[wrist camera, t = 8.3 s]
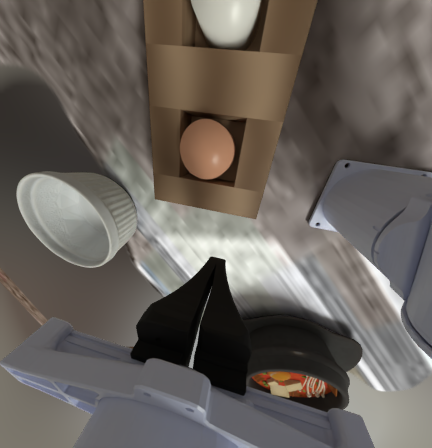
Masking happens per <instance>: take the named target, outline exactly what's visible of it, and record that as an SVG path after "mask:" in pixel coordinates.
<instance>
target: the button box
mask: <svg viewBox="0 0 432 448" xmlns="http://www.w3.org/2000/svg"><path fill="white" fill-rule="evenodd" d="M317 1H318V0H262V1H261V13H260V21H259V26H258V29H257V32H256V34H255V37H254V39H253V41H252V42H251V44H250V45H249V47H248V48H247V49H246V50H245V51H241V50H227V49H214V48H210V47H209V46H208V44H207V42H206V39H205V37H204V34H203V32H202V29H201V27H200V24H199V22H198V19H197V17H196V14H195V12H194V9H193V6H192V3H191V0H143V3H144V20H145V38H146V55H147V72H148V89H149V106H150V123H151V140H152V157H153V175H154V192H155V199H157V200H162V201H167V202H172V203H177V204H182V205H187V206H192V207H197V208H202V209H207V210H212V211H217V212H222V213H227V214H232V215H237V216H242V217H247V218H252V219H256V217H257V214H258V210H259V207H260V203H261V200H262V196H263V193H264V189H265V185H266V182H267V178H268V175H269V171H270V168H271V164H272V161H273V157H274V153H275V150H276V146H277V143H278V139H279V136H280V132H281V129H282V125H283V121H284V118H285V114H286V111H287V107H288V104H289V100H290V97H291V93H292V90H293V86H294V82H295V79H296V75H297V72H298V68H299V65H300V61H301V58H302V54H303V50H304V47H305V43H306V40H307V36H308V33H309V29H310V26H311V22H312V18H313V15H314V11H315V8H316V4H317ZM200 119H211V120H214V121H216V122H218V123H220V124H221V125H222V126H223V127H225V128H226V129H227V130H228V131H229V132H230V133H231V135H232V136H233V138H234V141H235V144H236V155H235V158H234V161H233V163H232V164H231V166H230V167H229V168H228V169H227V170H226V171H225V172H224V173H223V174H221V175H220V176H218V177H216V178H213V179H201V178H198V177H196V176H194V175H193V174H191V173H190V172H189V171H188V170H187V168H186V167H185V165H184V163H183V161H182V159H181V154H180V142H181V138H182V135H183V133H184V131H185V130H186V128H187V127H188V126H189V125H190V124H192V123H193V122H195V121H197V120H200Z"/></svg>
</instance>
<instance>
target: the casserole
mask: <svg viewBox="0 0 432 448" xmlns="http://www.w3.org/2000/svg"><path fill="white" fill-rule="evenodd" d="M242 320H243V322H244V324H245V326H246V328H247V329H248V331H249V335H250V340H251V346H252V356H251V358H250V360H249V362H248V372H247V374H246V386H247V387H250V388H254V389H257V390H260V391H263V392H266V393H269V394H272V395H275V396H278V397H281V398H284V399H287V400H290V401H293V402H297V403H300V404H303V405H306V406H309V407H312V408H315V409H318V410H321V411H324V412H328V411H329V410H330V409H332V408H338V409H342V410H343V409H345V408H346V407H347V406H348V403H349V395H348V387H349V385H350V380H349V377H348V375H347V373H346V372H347V371H349V370H350V369H352V368H354V367H355V366H356V365H357V364H358V363H359V361H360V359H361V357H362V348H361V345H360V344H359V343H358V342H357V341H355V340H354V339H351V338H348V337H345V336H342V335H340V334H337V333H334V332H332V331H330V330H328V329H326V328H324V327H322V326H320V325H318V324H316V323H314V322H311V321H308V320H305V319H301V318H297V317H292V316H266V317H260V318H254V319H242Z"/></svg>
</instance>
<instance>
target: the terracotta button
mask: <svg viewBox="0 0 432 448" xmlns="http://www.w3.org/2000/svg"><path fill="white" fill-rule="evenodd" d="M180 154H181V159H182V161H183V163H184V165H185V167H186V168H187V170H188V171H189V172H190V173H191V174H193V175H194V176H196V177H198V178H201V179H213V178H216V177H218V176H220V175H221V174H223V173H224V172H225V171H226V170H227V169H228V168H229V167H230V166H231V164H232V163H233V161H234V158H235V155H236V144H235V141H234V138H233V136H232V135H231V133H230V132H229V131H228V130H227V129H226V128H225V127H223V126H222V125H221V124H220V123H218V122H216V121H214V120H211V119H200V120H197V121H195V122H193V123H192V124H190V125H189V126H188V127H187V128H186V130H185V131H184V133H183V135H182V138H181V142H180Z"/></svg>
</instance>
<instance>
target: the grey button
mask: <svg viewBox="0 0 432 448" xmlns="http://www.w3.org/2000/svg"><path fill="white" fill-rule="evenodd" d="M261 1H262V0H191V3H192V6H193V9H194V12H195V14H196V17H197V19H198V22H199V24H200V27H201V29H202V32H203V34H204V37H205V39H206V42H207V44H208V46H209V47H210V48H214V49H227V50H241V51H245V50H246V49H247V48H248V47H249V45H250V44H251V42H252V41H253V39H254V37H255V34H256V32H257V29H258V26H259V21H260V13H261Z"/></svg>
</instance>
